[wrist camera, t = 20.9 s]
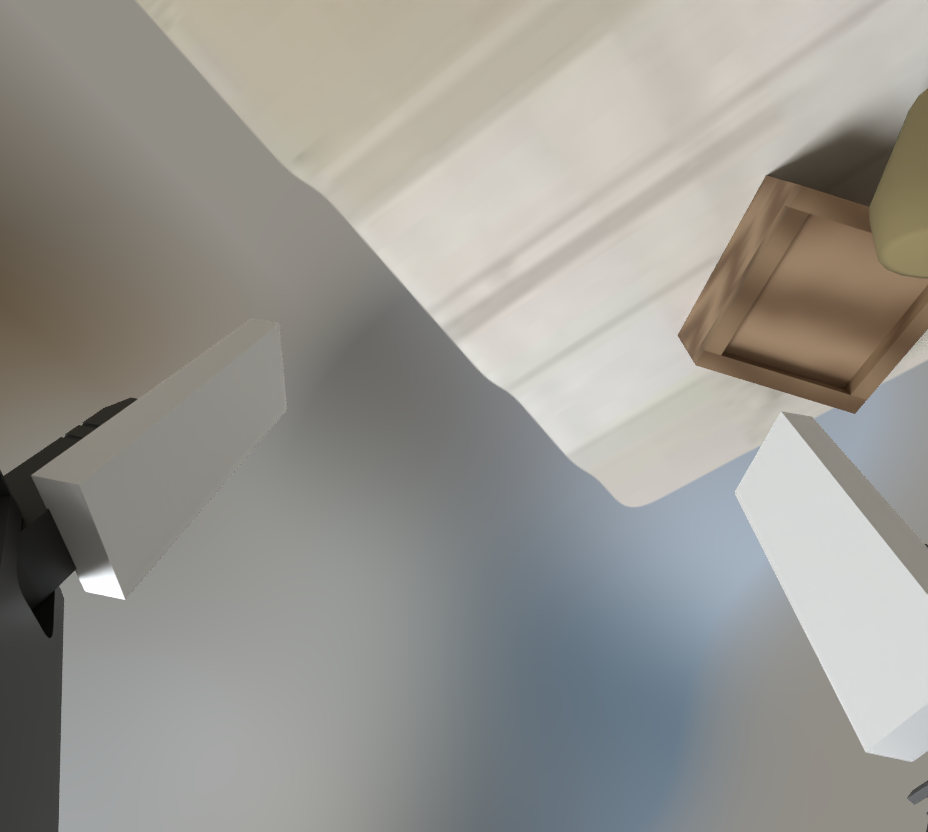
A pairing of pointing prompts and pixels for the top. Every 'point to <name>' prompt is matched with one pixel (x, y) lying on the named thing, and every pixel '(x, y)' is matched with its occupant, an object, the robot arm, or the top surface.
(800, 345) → the walnut tray
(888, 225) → the squeeze bottle
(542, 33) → the top surface
